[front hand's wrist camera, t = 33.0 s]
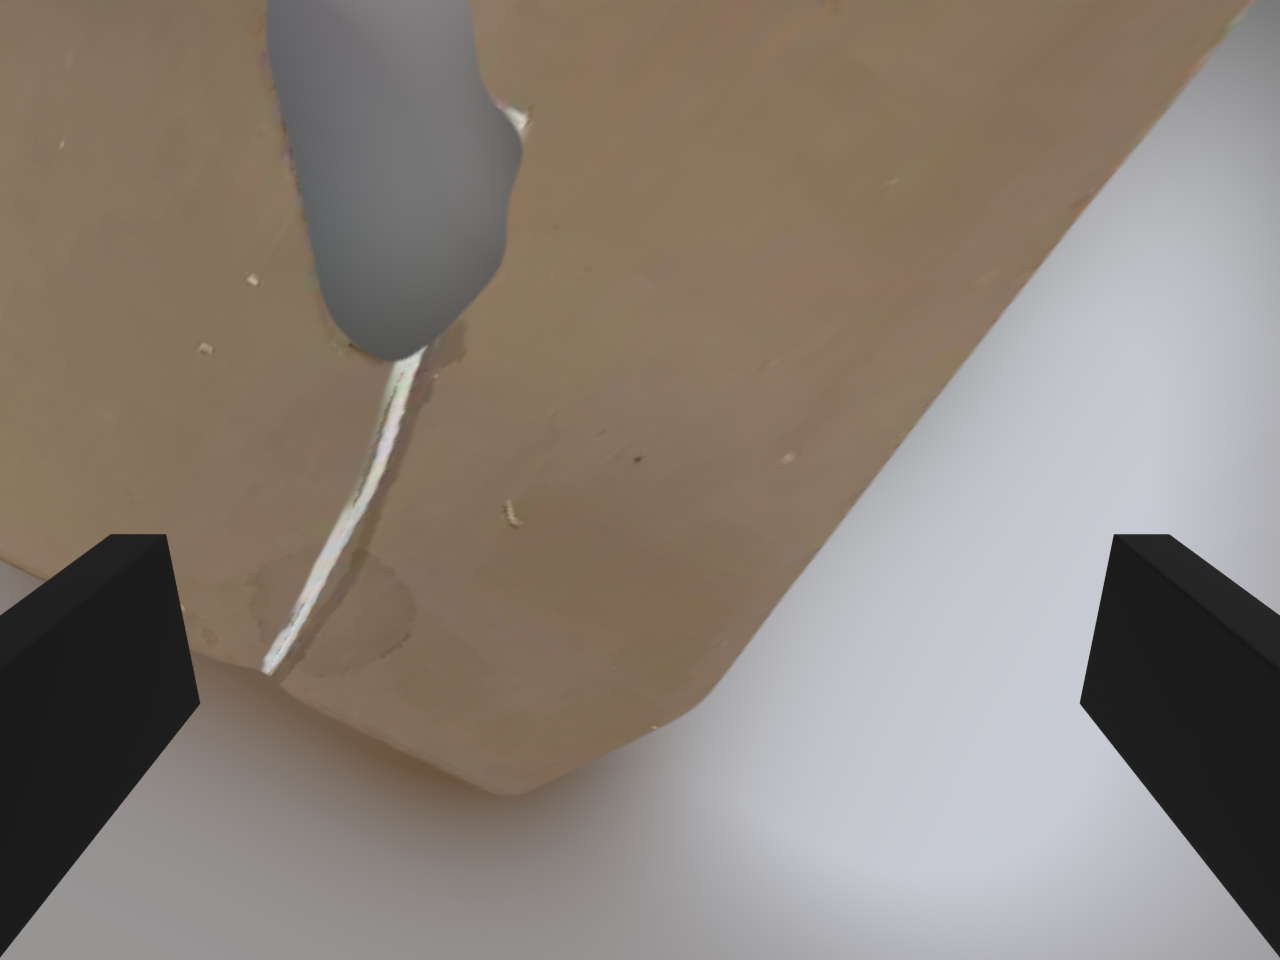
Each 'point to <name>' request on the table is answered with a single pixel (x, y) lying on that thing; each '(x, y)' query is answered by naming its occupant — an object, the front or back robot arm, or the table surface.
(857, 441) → the table surface
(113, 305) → the table surface
